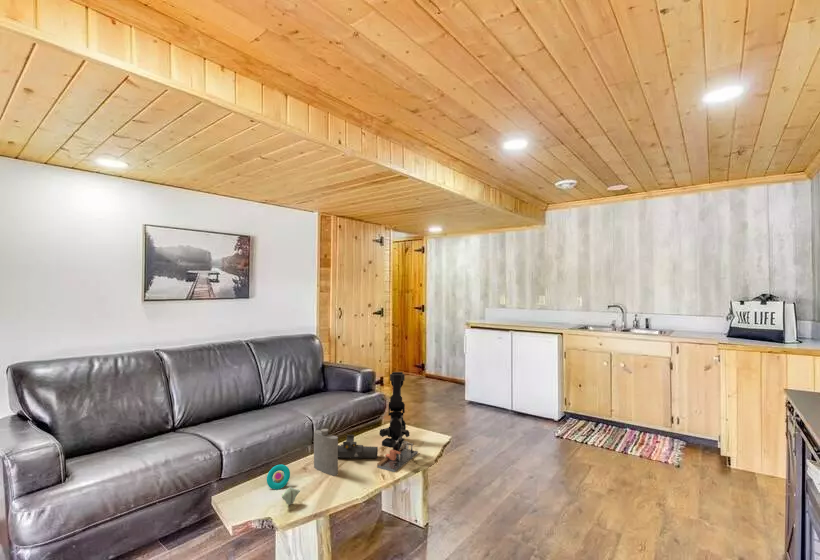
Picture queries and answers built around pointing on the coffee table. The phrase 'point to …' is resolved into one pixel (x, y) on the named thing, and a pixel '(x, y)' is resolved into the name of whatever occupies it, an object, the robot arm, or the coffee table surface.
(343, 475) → the coffee table surface
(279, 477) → the ornament
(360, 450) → the laser sight
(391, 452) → the block
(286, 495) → the grey-green faceted piece
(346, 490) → the coffee table surface
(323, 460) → the hip flask
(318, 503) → the coffee table surface
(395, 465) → the plate
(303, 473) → the coffee table surface
